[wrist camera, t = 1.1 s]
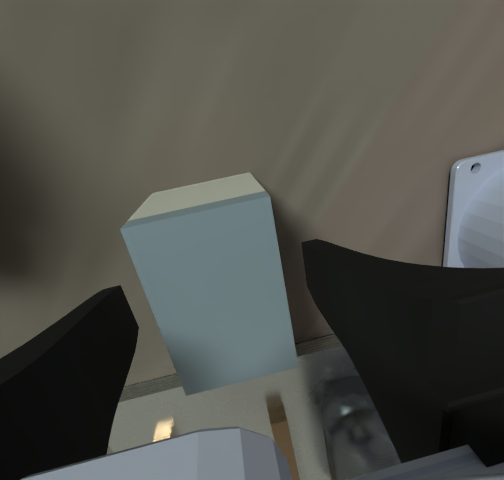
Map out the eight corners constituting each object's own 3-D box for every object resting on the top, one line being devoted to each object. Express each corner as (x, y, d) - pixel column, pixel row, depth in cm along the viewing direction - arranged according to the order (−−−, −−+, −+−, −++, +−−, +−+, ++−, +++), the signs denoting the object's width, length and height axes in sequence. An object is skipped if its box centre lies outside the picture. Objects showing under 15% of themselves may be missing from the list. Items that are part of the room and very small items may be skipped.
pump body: (249, 171, 13) (270, 196, 9) (273, 297, 16) (298, 367, 11) (152, 192, 13) (120, 229, 8) (193, 316, 16) (186, 396, 11)
